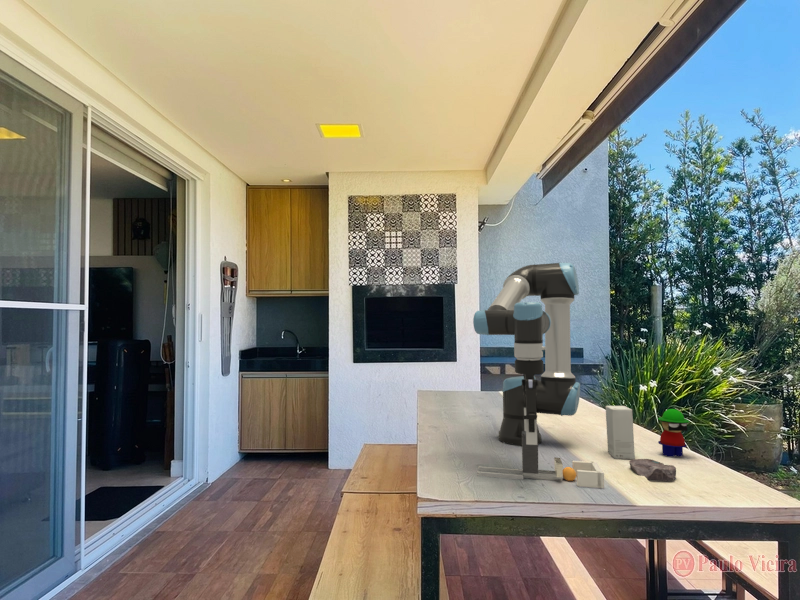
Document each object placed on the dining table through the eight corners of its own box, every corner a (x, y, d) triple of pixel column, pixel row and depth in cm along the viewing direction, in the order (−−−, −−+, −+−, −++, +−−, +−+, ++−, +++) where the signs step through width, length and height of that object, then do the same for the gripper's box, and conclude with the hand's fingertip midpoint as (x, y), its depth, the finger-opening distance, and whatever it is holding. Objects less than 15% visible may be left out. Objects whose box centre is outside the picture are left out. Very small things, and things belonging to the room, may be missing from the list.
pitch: (468, 485, 119) (468, 476, 119) (472, 469, 132) (472, 461, 132) (608, 497, 111) (608, 487, 111) (597, 478, 124) (597, 470, 125)
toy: (686, 453, 150) (684, 407, 150) (694, 460, 141) (693, 412, 142) (655, 451, 152) (654, 405, 153) (662, 458, 144) (660, 410, 145)
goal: (577, 487, 115) (577, 471, 115) (572, 475, 124) (572, 460, 124) (604, 489, 113) (604, 473, 113) (597, 477, 122) (596, 462, 123)
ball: (579, 468, 119) (578, 482, 119) (568, 464, 122) (567, 477, 122) (570, 470, 117) (570, 483, 117) (559, 466, 120) (558, 479, 120)
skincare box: (635, 460, 142) (633, 409, 143) (612, 459, 143) (611, 408, 144) (627, 453, 150) (626, 405, 151) (606, 451, 151) (604, 404, 152)
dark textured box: (522, 479, 119) (522, 435, 120) (522, 472, 125) (521, 430, 126) (563, 482, 117) (562, 437, 118) (560, 475, 123) (559, 432, 124)
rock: (683, 484, 120) (682, 466, 121) (636, 481, 123) (636, 464, 123) (671, 475, 128) (670, 458, 129) (627, 472, 131) (627, 456, 131)
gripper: (547, 363, 111) (549, 451, 110) (540, 354, 135) (541, 426, 134) (515, 363, 112) (517, 449, 112) (514, 354, 137) (515, 425, 136)
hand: (530, 437), depth 123 cm, fingers open, 13 cm apart
